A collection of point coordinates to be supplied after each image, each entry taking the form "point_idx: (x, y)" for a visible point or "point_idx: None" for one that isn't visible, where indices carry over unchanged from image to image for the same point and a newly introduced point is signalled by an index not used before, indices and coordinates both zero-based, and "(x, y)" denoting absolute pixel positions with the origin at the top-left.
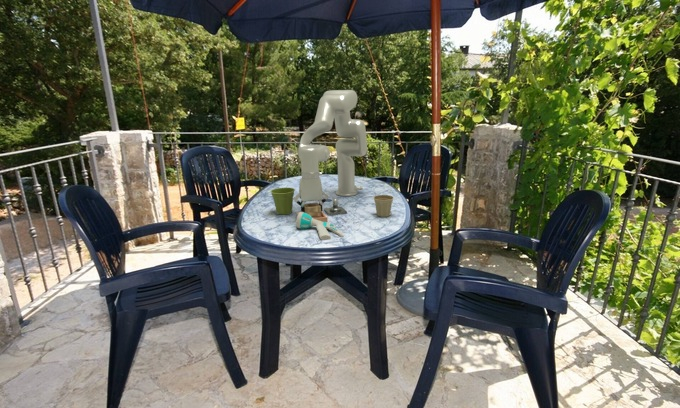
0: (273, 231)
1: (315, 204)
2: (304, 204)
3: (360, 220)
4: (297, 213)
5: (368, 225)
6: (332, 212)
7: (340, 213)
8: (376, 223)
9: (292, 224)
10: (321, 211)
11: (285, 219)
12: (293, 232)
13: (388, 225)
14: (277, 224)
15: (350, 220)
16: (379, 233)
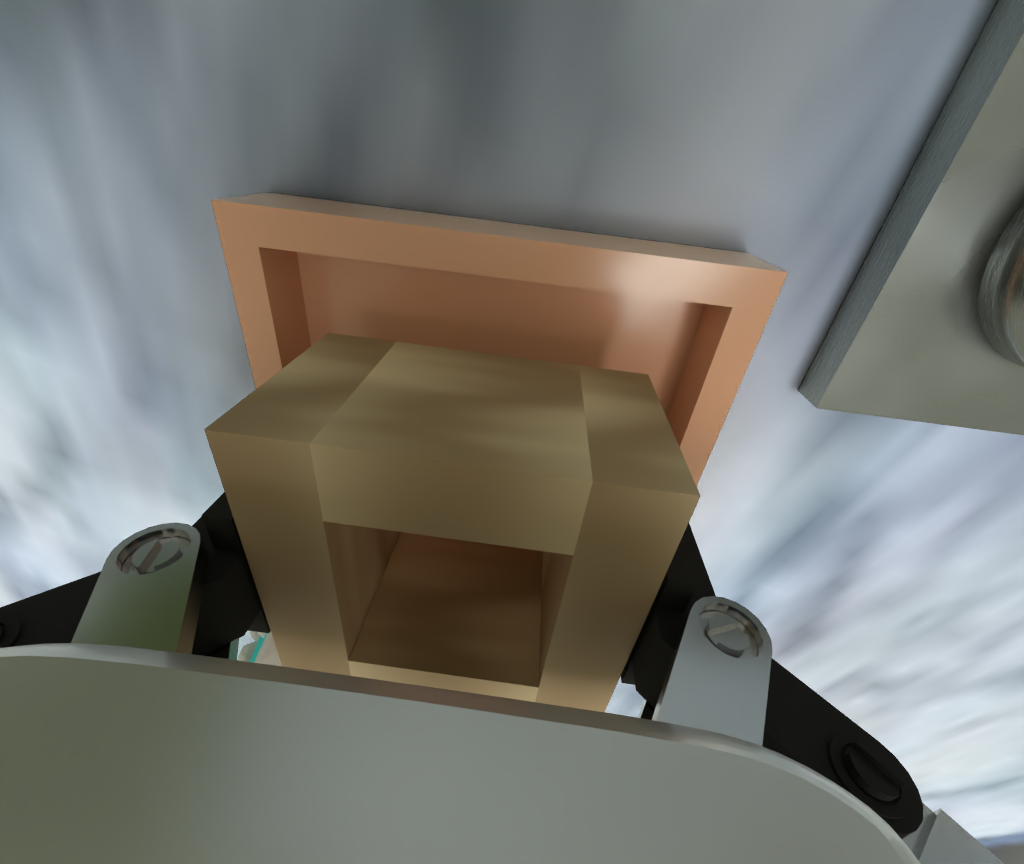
0: (58, 566)
1: (562, 594)
2: (267, 500)
3: (961, 669)
4: (229, 229)
5: None
6: (923, 382)
7: (1020, 427)
8: (990, 751)
9: (219, 488)
10: (718, 378)
11: (71, 257)
12: (250, 640)
13: (1013, 795)
14: (22, 415)
15: (877, 634)
16: None
